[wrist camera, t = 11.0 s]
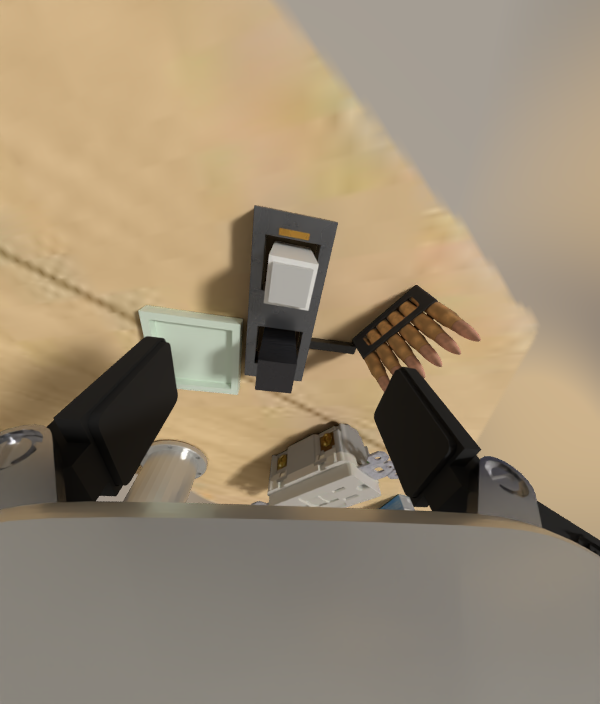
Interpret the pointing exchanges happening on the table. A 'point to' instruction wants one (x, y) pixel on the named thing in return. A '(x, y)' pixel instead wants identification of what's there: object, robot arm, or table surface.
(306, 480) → the electrical outlet
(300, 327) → the dark grey holder base
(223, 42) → the table surface
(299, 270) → the grey rectangular block
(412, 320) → the ammunition clip
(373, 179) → the table surface
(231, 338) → the tray
